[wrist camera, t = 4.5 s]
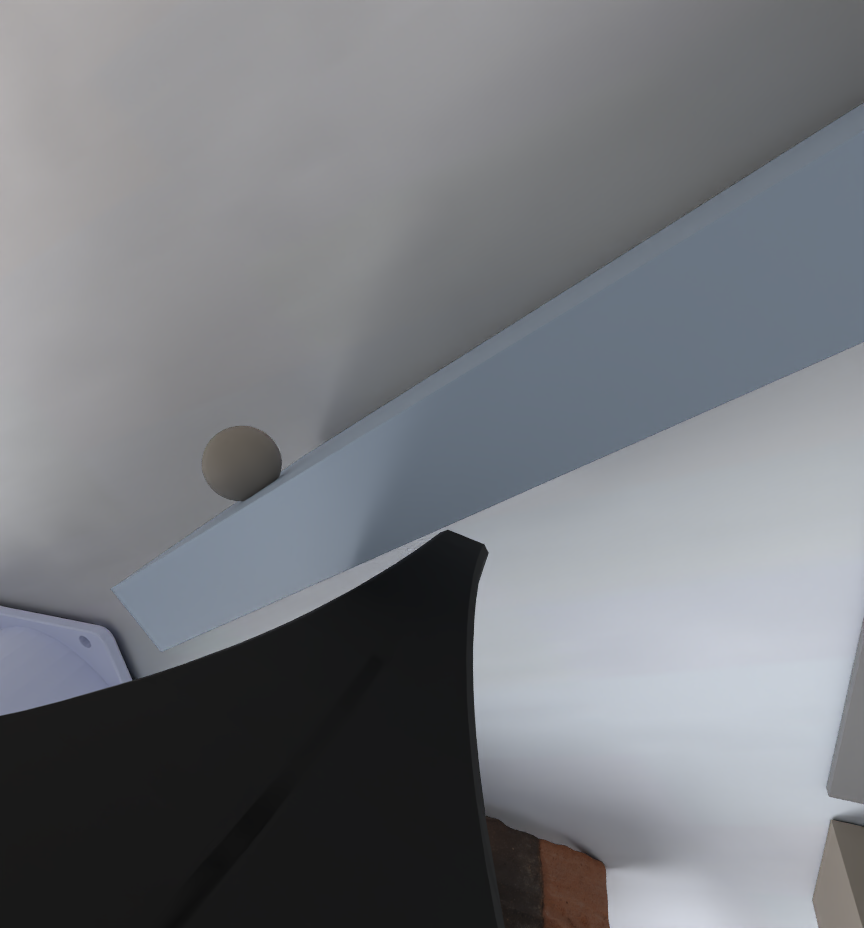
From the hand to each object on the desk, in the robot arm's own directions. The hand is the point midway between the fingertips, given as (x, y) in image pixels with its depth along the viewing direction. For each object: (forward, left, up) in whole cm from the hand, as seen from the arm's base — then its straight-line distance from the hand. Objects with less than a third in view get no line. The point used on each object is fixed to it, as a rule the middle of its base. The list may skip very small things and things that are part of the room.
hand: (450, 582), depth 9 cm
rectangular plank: (+1, +4, -2) cm, 5 cm away
